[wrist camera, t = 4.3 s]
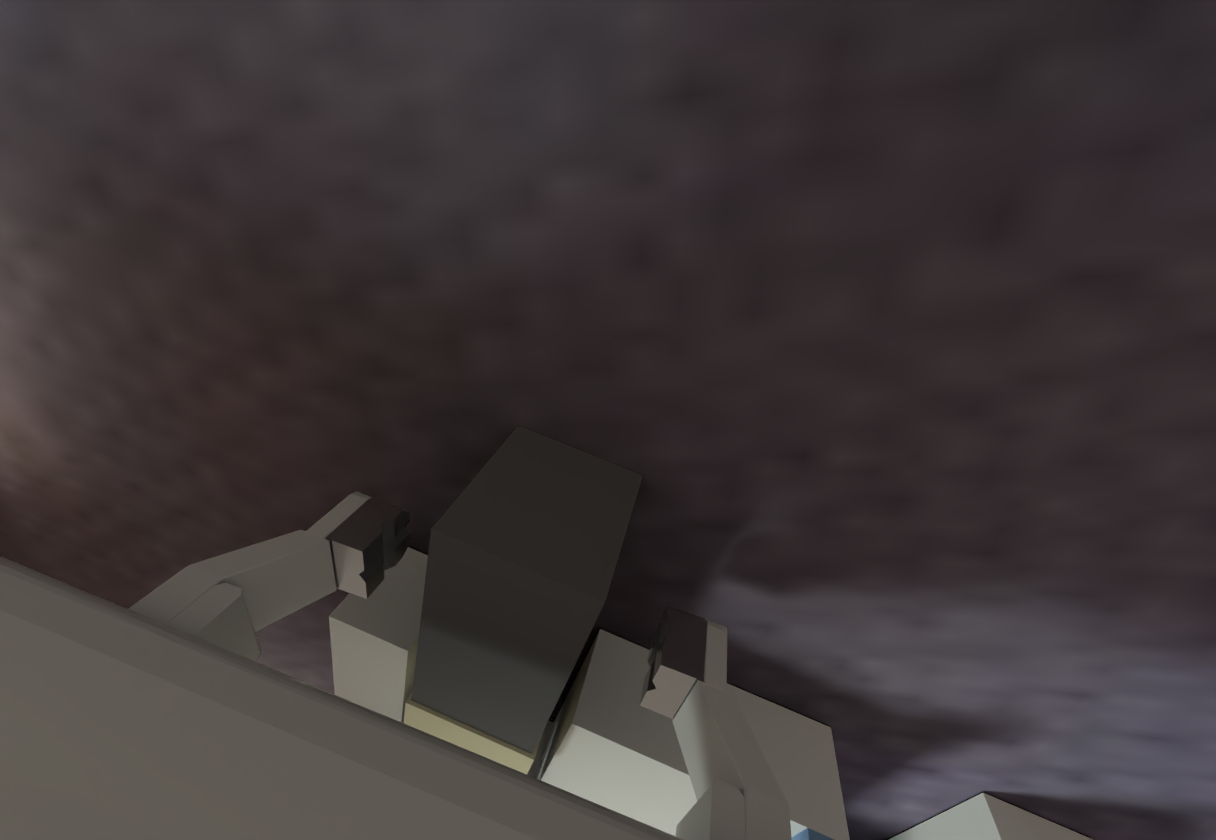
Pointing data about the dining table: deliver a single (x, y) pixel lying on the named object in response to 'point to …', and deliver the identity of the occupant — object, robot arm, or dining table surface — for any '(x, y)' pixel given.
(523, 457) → the banded gray post
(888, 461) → the dining table surface
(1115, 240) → the dining table surface
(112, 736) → the robot arm
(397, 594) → the white angular block assembly
